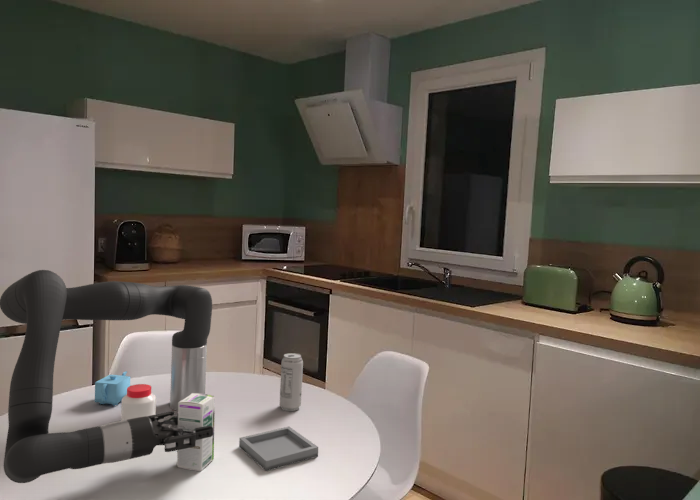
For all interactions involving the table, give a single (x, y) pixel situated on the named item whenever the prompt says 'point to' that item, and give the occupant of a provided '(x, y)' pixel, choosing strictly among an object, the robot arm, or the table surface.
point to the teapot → (111, 389)
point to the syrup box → (195, 415)
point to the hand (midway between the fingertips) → (204, 423)
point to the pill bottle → (138, 402)
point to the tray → (278, 448)
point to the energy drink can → (291, 382)
